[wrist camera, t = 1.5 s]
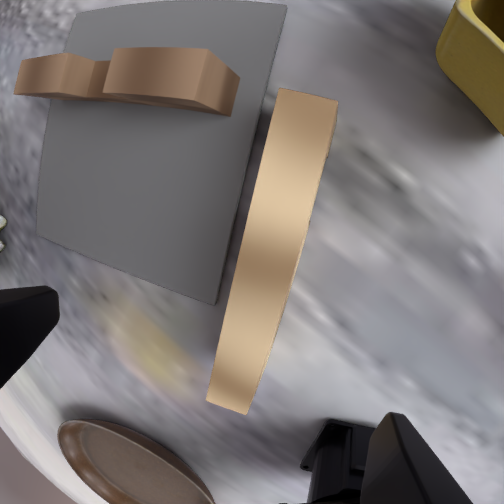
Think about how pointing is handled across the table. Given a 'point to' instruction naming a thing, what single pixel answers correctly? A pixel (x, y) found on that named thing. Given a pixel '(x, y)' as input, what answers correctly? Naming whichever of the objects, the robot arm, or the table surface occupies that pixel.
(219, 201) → the mat
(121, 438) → the plant saucer
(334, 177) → the table surface
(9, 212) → the table surface
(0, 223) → the passion flower
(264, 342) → the beech curved plate
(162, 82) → the walnut slotted board
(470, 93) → the flower pot
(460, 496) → the robot arm
